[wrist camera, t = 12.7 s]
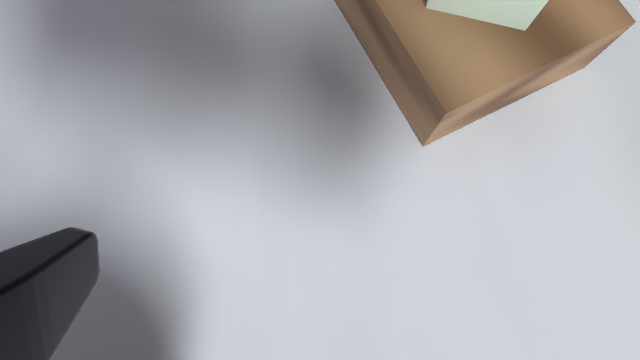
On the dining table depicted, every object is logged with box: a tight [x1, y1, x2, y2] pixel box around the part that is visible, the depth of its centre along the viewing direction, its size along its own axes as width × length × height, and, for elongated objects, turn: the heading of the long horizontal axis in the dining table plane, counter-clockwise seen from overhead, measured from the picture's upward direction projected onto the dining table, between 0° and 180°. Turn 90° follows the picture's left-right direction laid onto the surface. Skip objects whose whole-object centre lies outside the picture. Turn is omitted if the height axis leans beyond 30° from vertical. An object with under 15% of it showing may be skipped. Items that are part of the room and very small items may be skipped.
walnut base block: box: [335, 0, 636, 146], centre depth 23 cm, size 10×10×4 cm
